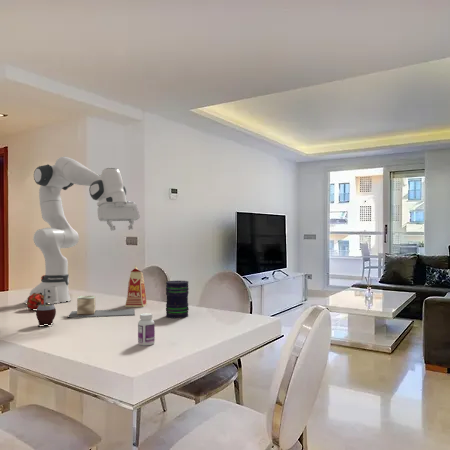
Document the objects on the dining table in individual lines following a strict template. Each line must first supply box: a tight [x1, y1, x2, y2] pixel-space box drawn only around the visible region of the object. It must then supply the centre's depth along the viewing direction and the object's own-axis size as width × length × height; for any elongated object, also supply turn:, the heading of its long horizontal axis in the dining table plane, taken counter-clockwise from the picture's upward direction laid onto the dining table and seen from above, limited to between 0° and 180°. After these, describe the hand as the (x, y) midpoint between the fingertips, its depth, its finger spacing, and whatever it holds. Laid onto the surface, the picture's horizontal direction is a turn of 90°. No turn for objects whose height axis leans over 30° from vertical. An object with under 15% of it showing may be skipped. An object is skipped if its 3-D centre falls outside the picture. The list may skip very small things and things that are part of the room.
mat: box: [68, 308, 136, 318], centre depth 189 cm, size 28×14×1 cm, turn 103°
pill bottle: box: [137, 312, 156, 347], centre depth 138 cm, size 5×5×10 cm
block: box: [76, 295, 96, 315], centre depth 188 cm, size 7×7×7 cm
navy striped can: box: [165, 280, 190, 319], centre depth 184 cm, size 10×10×15 cm
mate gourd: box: [35, 289, 57, 326], centre depth 165 cm, size 8×8×15 cm
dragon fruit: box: [26, 293, 48, 310], centre depth 199 cm, size 8×8×12 cm
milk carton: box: [124, 265, 148, 308], centre depth 211 cm, size 9×9×20 cm
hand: (122, 229), depth 193 cm, fingers open, 8 cm apart
